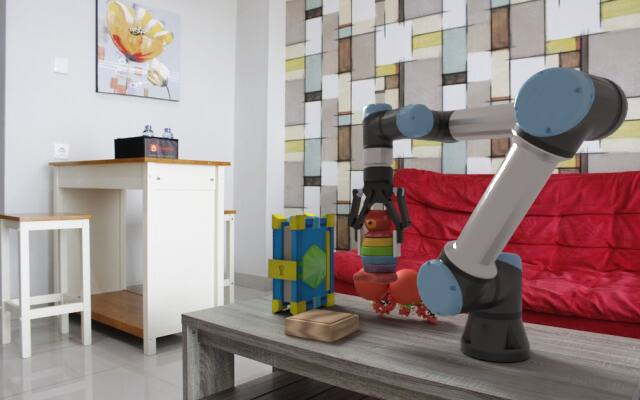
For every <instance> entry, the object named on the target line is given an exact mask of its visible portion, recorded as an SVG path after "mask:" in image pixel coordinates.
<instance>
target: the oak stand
mask: <svg viewBox="0 0 640 400" xmlns="http://www.w3.org/2000/svg"><path fill="white" fill-rule="evenodd" d="M359 326H360V316H359V314H355V313H350V312H349V313H348V312H343V311H342V312H341V311H333V310H328V309H320V308H315V309H308V310H306V312H303V313H300V314H297V315H292V316H288V317H285V318H284V335H288V336H294V337H298V338H304V339H311V340H316V341H320V342H326V343H333V342H335V341H337V340H340V339H342V338H344V337H347V336H349V335H351V334H353V333H354V332H357V331H359V330H360V327H359Z"/></svg>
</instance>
